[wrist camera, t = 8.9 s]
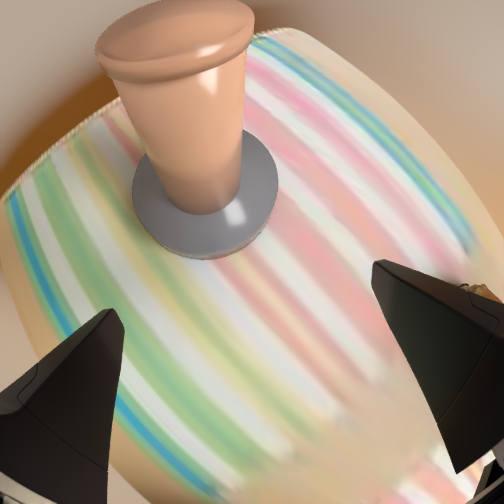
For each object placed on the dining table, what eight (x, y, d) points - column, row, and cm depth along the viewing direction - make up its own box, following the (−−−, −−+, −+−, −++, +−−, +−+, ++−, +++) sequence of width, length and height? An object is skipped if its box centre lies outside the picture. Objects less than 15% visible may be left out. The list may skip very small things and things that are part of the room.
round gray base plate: (199, 290, 20) (194, 286, 18) (119, 194, 21) (108, 181, 19) (301, 197, 22) (308, 183, 20) (214, 121, 24) (212, 103, 21)
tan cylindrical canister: (216, 232, 18) (187, 81, 6) (148, 196, 19) (66, 59, 6) (257, 166, 20) (281, 8, 7) (191, 137, 20) (164, -8, 8)
